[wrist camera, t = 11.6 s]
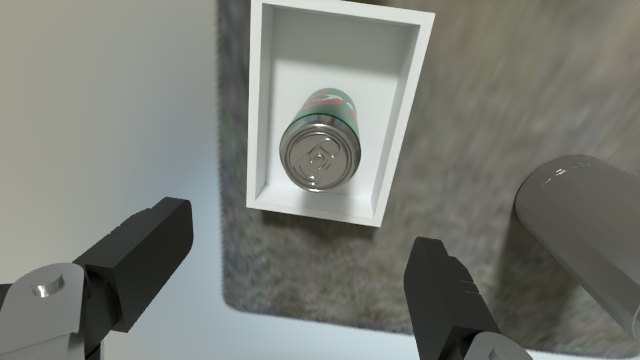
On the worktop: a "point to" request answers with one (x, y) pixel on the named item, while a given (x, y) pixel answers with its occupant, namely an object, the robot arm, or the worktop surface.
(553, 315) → the worktop surface
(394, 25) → the tote
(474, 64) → the worktop surface
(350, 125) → the soda can
